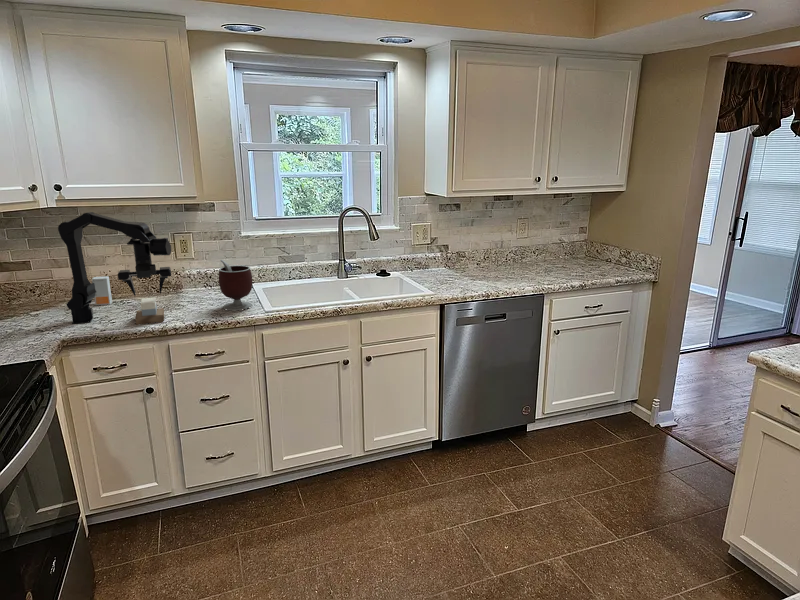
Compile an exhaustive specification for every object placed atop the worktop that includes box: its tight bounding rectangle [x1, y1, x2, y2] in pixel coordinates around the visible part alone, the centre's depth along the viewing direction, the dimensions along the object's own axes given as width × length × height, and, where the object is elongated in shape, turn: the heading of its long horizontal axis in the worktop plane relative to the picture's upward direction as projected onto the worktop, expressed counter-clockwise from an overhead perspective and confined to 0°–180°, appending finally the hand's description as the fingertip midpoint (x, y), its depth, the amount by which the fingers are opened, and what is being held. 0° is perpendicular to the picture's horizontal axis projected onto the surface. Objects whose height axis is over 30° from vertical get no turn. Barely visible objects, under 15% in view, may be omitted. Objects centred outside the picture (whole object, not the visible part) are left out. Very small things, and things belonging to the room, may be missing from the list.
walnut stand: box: [134, 307, 165, 326], centre depth 213 cm, size 10×10×3 cm
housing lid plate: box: [140, 297, 157, 310], centre depth 212 cm, size 5×8×2 cm, turn 23°
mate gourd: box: [218, 259, 253, 311], centre depth 229 cm, size 16×14×20 cm
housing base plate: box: [142, 305, 158, 316], centre depth 212 cm, size 5×8×2 cm, turn 22°
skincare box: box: [91, 275, 113, 306], centre depth 234 cm, size 6×4×12 cm
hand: (147, 294), depth 210 cm, fingers open, 9 cm apart
